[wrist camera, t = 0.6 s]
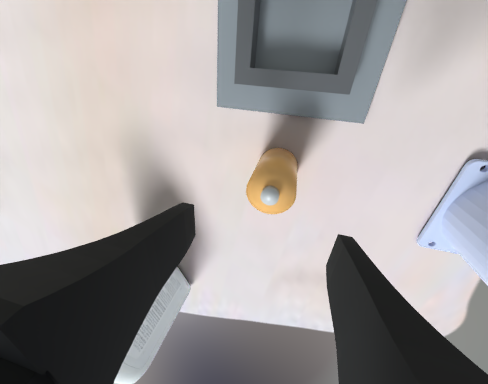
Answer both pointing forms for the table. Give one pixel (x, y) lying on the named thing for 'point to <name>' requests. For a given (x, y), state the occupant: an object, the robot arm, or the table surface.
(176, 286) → the white wifi router
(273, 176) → the tan capped bottle
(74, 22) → the table surface
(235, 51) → the housing
